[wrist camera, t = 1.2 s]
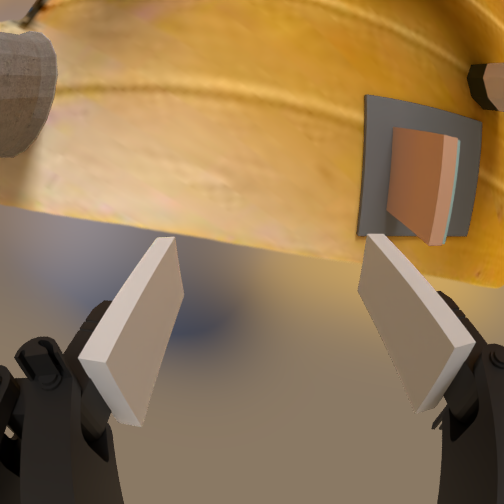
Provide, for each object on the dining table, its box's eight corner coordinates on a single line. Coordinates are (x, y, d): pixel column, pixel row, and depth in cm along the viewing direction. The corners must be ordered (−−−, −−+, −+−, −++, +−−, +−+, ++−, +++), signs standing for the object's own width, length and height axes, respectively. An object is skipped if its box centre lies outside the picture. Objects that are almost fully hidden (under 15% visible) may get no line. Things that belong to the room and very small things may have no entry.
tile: (386, 210, 37) (428, 245, 27) (392, 126, 32) (444, 134, 21) (400, 210, 37) (444, 245, 27) (407, 129, 32) (460, 138, 21)
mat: (356, 233, 40) (358, 236, 39) (364, 94, 31) (366, 94, 30) (464, 234, 40) (466, 236, 39) (479, 121, 31) (482, 122, 30)
